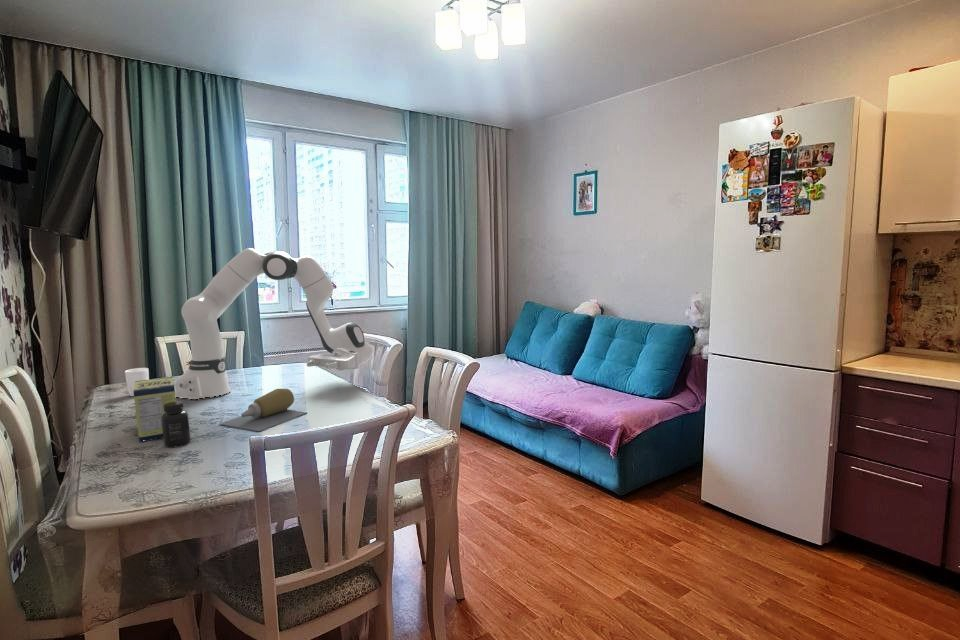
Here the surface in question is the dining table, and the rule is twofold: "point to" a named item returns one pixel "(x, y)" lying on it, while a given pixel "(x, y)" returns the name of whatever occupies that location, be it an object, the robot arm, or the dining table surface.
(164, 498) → the dining table surface
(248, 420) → the mat
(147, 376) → the white cup
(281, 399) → the squeeze bottle
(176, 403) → the supplement bottle
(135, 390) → the protein box
